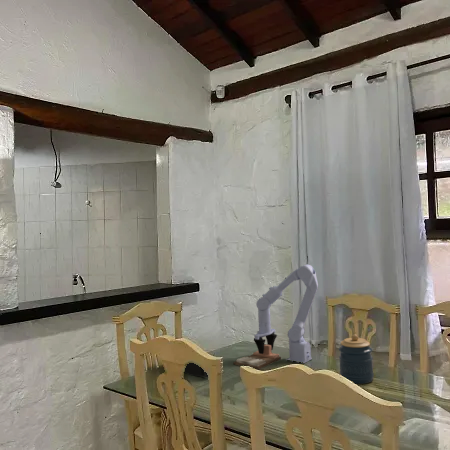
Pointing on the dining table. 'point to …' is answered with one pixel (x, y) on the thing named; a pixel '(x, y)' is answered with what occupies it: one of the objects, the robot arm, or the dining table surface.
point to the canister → (356, 360)
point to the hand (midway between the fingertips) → (265, 351)
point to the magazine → (195, 370)
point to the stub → (267, 352)
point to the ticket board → (255, 361)
